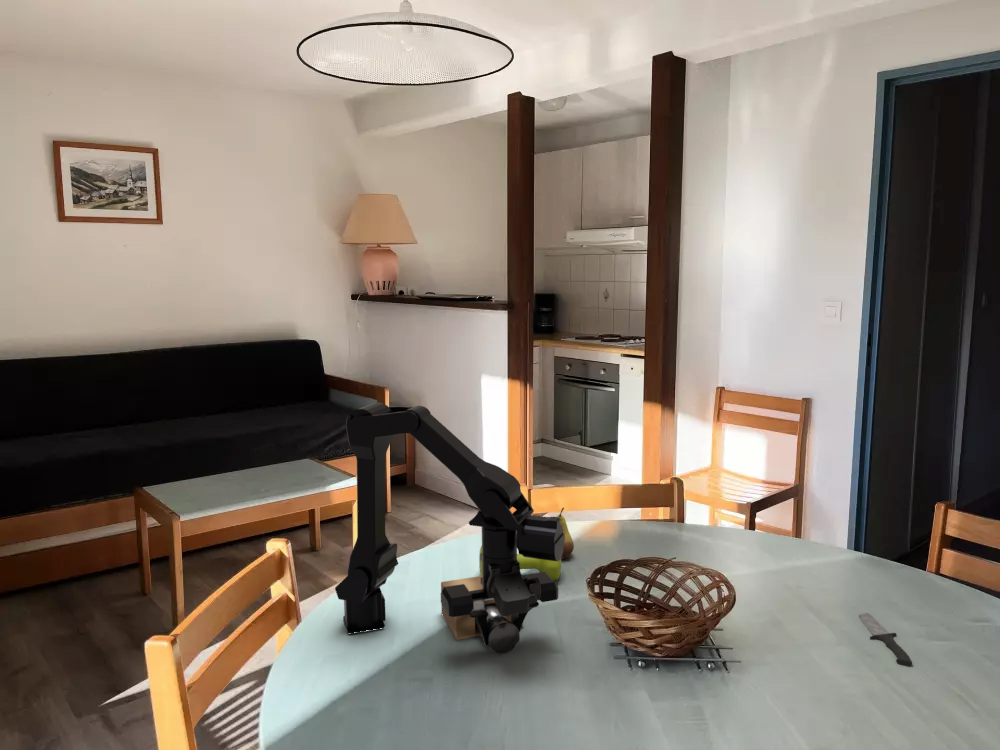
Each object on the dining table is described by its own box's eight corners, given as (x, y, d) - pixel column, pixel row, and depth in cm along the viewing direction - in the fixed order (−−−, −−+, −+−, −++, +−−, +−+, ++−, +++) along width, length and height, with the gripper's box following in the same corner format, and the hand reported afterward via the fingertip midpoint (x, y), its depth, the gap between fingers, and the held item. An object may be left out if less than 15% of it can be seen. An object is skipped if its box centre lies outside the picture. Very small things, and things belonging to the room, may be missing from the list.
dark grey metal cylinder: (489, 656, 124) (489, 626, 123) (464, 616, 137) (463, 589, 137) (519, 650, 125) (519, 620, 125) (491, 611, 139) (491, 584, 138)
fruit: (578, 555, 166) (578, 501, 164) (566, 564, 161) (566, 509, 159) (555, 550, 169) (555, 497, 167) (543, 558, 164) (543, 505, 162)
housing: (456, 639, 130) (455, 605, 129) (441, 614, 139) (441, 582, 138) (522, 628, 134) (522, 594, 133) (503, 603, 143) (503, 572, 142)
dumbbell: (558, 569, 159) (558, 536, 158) (562, 585, 151) (563, 551, 150) (479, 571, 158) (478, 538, 157) (479, 588, 150) (479, 553, 149)
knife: (837, 601, 142) (865, 601, 142) (837, 606, 143) (865, 606, 142) (893, 660, 120) (926, 661, 120) (893, 667, 120) (925, 667, 120)
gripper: (457, 580, 113) (459, 677, 116) (572, 563, 119) (572, 655, 122) (438, 553, 124) (440, 642, 126) (545, 538, 130) (545, 624, 132)
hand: (500, 641), depth 126 cm, fingers closed on dark grey metal cylinder, 4 cm apart
